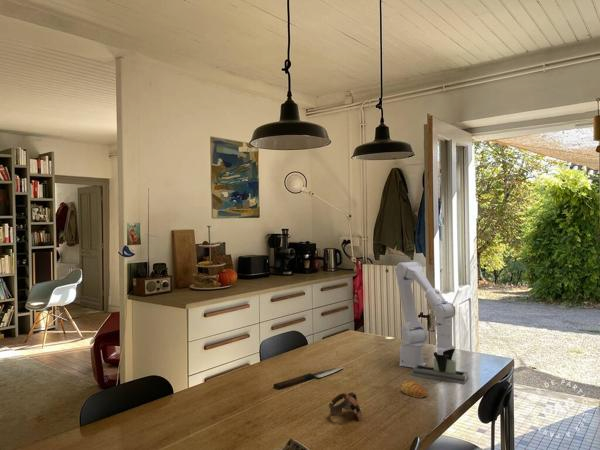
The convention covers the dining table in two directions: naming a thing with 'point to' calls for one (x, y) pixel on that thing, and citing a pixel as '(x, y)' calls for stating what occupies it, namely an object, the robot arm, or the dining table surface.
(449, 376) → the door track
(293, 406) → the dining table surface
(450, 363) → the door panel
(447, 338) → the robot arm
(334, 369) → the kitchen knife
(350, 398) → the brown openwork sculpture
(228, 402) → the dining table surface
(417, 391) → the pastry
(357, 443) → the dining table surface
